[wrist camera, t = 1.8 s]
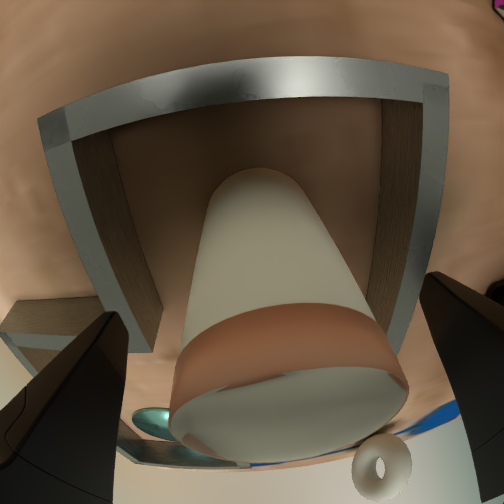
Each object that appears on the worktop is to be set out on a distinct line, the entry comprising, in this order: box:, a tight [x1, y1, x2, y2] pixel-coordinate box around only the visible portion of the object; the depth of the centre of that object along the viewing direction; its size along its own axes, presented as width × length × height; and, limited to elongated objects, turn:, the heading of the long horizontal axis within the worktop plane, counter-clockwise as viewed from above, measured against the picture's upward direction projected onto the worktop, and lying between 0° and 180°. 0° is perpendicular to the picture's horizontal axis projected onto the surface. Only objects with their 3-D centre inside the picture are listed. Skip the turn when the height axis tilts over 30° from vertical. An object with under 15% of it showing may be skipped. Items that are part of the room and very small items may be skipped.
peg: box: [168, 168, 409, 463], centre depth 8 cm, size 4×4×9 cm
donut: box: [352, 433, 412, 502], centre depth 25 cm, size 10×3×10 cm, turn 162°
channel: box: [0, 56, 449, 469], centre depth 16 cm, size 23×32×3 cm
